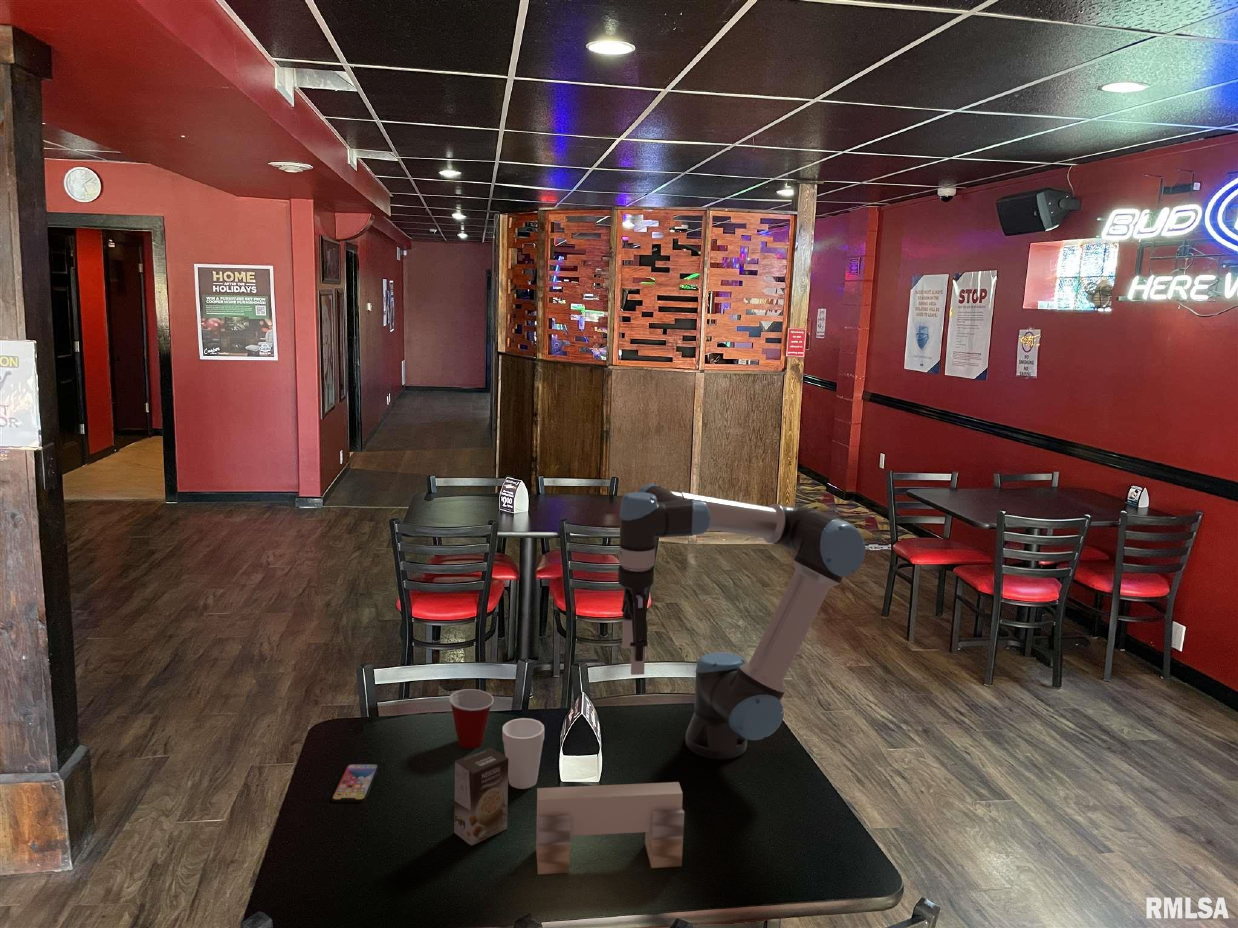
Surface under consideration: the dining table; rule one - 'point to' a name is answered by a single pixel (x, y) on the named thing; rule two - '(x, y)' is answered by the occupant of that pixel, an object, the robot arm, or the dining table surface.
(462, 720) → the plastic cup
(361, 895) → the dining table surface
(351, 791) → the smartphone
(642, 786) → the rail
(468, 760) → the coffee box
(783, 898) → the dining table surface
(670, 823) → the brackets
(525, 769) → the foam cup
